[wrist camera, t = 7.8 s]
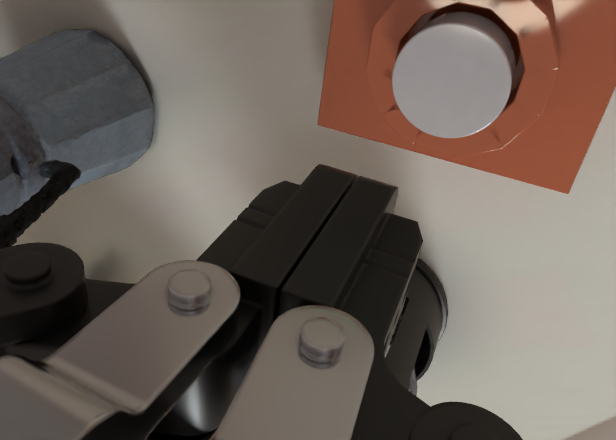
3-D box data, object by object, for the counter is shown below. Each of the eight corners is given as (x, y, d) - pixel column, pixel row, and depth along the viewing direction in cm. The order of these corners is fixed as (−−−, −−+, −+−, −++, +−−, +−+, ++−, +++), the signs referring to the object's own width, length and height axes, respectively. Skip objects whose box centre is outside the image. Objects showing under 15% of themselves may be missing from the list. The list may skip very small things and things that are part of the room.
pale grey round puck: (394, 105, 25) (381, 122, 23) (416, 0, 22) (404, 11, 21) (496, 132, 24) (490, 151, 22) (531, 24, 21) (528, 37, 20)
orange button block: (334, 106, 30) (303, 139, 27) (365, -95, 25) (331, -89, 21) (568, 169, 27) (568, 214, 24) (659, -45, 22) (677, -28, 18)
